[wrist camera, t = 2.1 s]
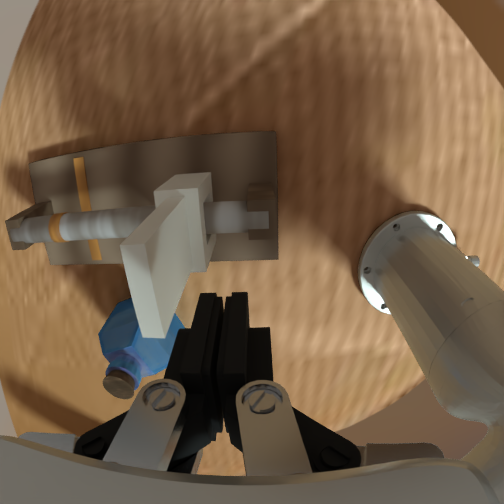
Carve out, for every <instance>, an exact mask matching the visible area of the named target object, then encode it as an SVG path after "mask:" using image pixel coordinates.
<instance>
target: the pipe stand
mask: <svg viewBox="0 0 504 504" xmlns="http://www.w3.org/2000/svg"><path fill="white" fill-rule="evenodd" d="M29 169H30V176H31V182H32V188H33V193H34V198H35V205H33V206H31V207H29V208H28V209H26V210H24V211H22V212H20V213H19V214H17V215H15V216H13V217H11V218H10V219H8V220H6V221H5V223H6V227H7V231H8V235H9V238H10V242H11V246H12V249H13V250H24V249H27V248H28V247H30V246H31V245H32V244H34V243H41V242H44V243H45V246H46V250H47V254H48V257H49V261H50V264H51V265H71V264H123V258H122V254H121V249H120V244H121V243H122V242H123V241H124V240H125V239H126V238H127V237H128V236H129V235H130V234H131V233H132V232H133V231H134V230H135V229H136V228H137V227H138V226H139V225H140V224H141V223H142V222H143V221H144V220H145V219H146V218H147V217H148V216H149V215H150V214H151V213H152V212H153V211H154V210H155V209H156V206H155V199H154V191H155V190H156V189H157V188H158V187H160V186H161V185H162V184H164V183H165V182H166V181H168V180H169V179H170V178H172V177H173V176H174V175H177V174H190V173H204V172H211V181H212V194H213V202H204V203H203V208H204V219H205V229H206V234H216V243H215V246H214V249H213V252H212V255H211V258H210V261H244V260H277V259H278V188H277V146H276V132H275V131H257V132H234V133H217V134H204V135H192V136H182V137H172V138H163V139H155V140H147V141H139V142H132V143H126V144H119V145H113V146H107V147H101V148H95V149H90V150H85V151H80V152H75V153H70V154H65V155H60V156H56V157H51V158H47V159H43V160H39V161H36V162H32V163H29Z"/></svg>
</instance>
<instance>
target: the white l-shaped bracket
mask: <svg viewBox="0 0 504 504" xmlns="http://www.w3.org/2000/svg"><path fill="white" fill-rule="evenodd" d="M154 199H155V206H156V209H155V210H154V211H153V212H152V213H151V214H150V215H149V216H148V217H147V218H146V219H145V220H144V221H143V222H142V223H141V224H140V225H139V226H138V227H137V228H136V229H135V230H134V231H133V232H132V233H131V234H130V235H129V236H128V237H127V238H126V239H125V240H124V241H123V242H122V243H121V244H120V249H121V254H122V258H123V263H124V267H125V272H126V276H127V280H128V285H129V289H130V293H131V297H132V301H133V305H134V308H135V312H136V316H137V319H138V323H139V327H140V330H141V333H142V337H144V338H165V337H166V334H167V332H168V329H169V326H170V324H171V321H172V318H173V316H174V313H175V310H176V308H177V305H178V303H179V300H180V297H181V295H182V292H183V290H184V287H185V285H186V282H187V280H188V277H189V275H190V272H206V271H207V268H208V265H209V262H210V258H211V255H212V252H213V249H214V246H215V243H216V234H206V229H205V219H204V208H203V203H204V202H213V194H212V181H211V172H204V173H190V174H177V175H174V176H173V177H172V178H170V179H169V180H168V181H166V182H165V183H164V184H162V185H161V186H160V187H158V188H157V189H156V190H155V191H154Z"/></svg>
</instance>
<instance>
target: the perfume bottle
mask: <svg viewBox="0 0 504 504" xmlns="http://www.w3.org/2000/svg"><path fill="white" fill-rule="evenodd" d="M180 328H185V327H184V326H183V324H182V323H181V321H180V320H179V318H178V317H177V315H176V314H175V313H174V316H173V318H172V321H171V324H170V326H169V329H168V332H167V334H166V337H165V338H144V337H142V333H141V330H140V327H139V323H138V319H137V316H136V312H135V308H134V305H133V301H132V298H129V299H127V300H124V301H122V302H119V303H118V304H117V305H116V307H115V308H114V310H113V311H112V313H111V315H110V316H109V318H108V319H107V321H106V322H105V324H104V326H103V327H102V329H101V330H100V332H99V334H98V335H99V340H100V344H101V348H102V353H103V355H104V356H105V358H106V359H107V360H108V361H109V362H110V364H109V366H108V368H107V370H106V377H105V378H104V380H103V386H104V388H105V389H106V390H107V391H108V392H109V393H110V394H112V395H113V396H115V397H117V398H121V399H130V398H132V397H133V395H134V390H136V389H137V388H138V386H139V384H140V381H141V378H142V377H146V376H151V375H155V374H156V373H158V372H160V371H162V370H163V369H165V368H167V365H168V362H169V359H170V355H171V352H172V349H173V345H174V342H175V339H176V336H177V332H178V330H179V329H180Z"/></svg>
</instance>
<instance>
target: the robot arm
mask: <svg viewBox="0 0 504 504" xmlns="http://www.w3.org/2000/svg"><path fill="white" fill-rule="evenodd" d="M394 224H395V226H393V225H394ZM479 262H480V261H479V257H478V256H466V255H465V254H463V253H462V252H461V251H460V250H458V249H457V246H456V241H455V238H454V235H453V233H452V231H451V229H450V228H449V227H448V225H447V224H446V223H445V222H444V221H442V220H441V219H440V218H438V217H437V216H435V215H433V214H431V213H428V212H424V211H409V212H404V213H401V214H399V215H396V216H394V217H392V218H390V219H389V220H387V221H386V222H384V223H383V224H382V225H381V226H380V227H379V228H378V229H376V230H375V232H374V233H373V234H372V236H371V237H370V238H369V239H368V241H367V243H366V245H365V247H364V248H363V251H362V254H361V257H360V260H359V266H358V280H359V284H360V288H361V290H362V292H363V294H364V296H365V298H366V299H367V301H368V302H369V303H370V304H371V305H372V306H373V307H374V308H375V309H377V310H379V311H381V312H383V313H387V314H391V315H392V317H393V318H394V320H395V322H396V324H397V325H398V327H399V329H400V331H401V332H402V334H403V336H404V338H405V340H406V341H407V343H408V345H409V347H410V349H411V351H412V352H413V354H414V356H415V358H416V360H417V362H418V364H419V366H420V368H421V369H422V371H423V373H424V375H425V377H426V379H427V381H428V383H429V385H430V387H431V389H432V391H433V393H434V395H435V397H436V398H437V400H438V402H439V403H440V404H441V406H442V407H443V408H444V409H445V410H446V411H447V412H449V413H450V414H451V415H453V416H455V417H458V418H461V419H465V420H470V421H478V422H483V423H485V424H486V425H487V426H488V432H487V435H486V436H485V437H484V439H483V440H481V441H480V442H479V443H478V444H477V445H476V446H475V447H474V448H473V449H472V450H471V451H470V452H469V453H468V454H467V455H466V456H464V457H463V458H462V459H461V460H456V459H448V458H444V455H443V452H442V451H441V450H440V449H439V448H438V447H437V446H436V445H433V444H431V443H402V444H401V443H399V444H373V443H372V444H371V443H367V444H366V446H356V445H354V444H353V443H352V442H350V441H349V440H347V439H345V438H343V437H342V436H340V435H338V434H336V433H335V432H333V431H331V430H330V429H328V428H326V427H324V426H323V425H321V424H319V423H318V422H316V421H314V420H313V419H311V418H309V417H308V416H306V415H305V414H303V413H301V412H300V411H298V410H297V409H295V408H293V407H292V406H291V402H290V399H289V396H288V393H287V392H286V390H285V389H284V388H283V387H282V386H281V385H280V384H278V383H276V382H273V368H272V352H271V337H270V327H262V328H250V326H249V308H248V293H247V292H232V296H229V297H226V302H225V309H223V300H222V297H217V294H216V293H200V296H199V300H198V304H197V307H196V311H195V315H194V319H193V322H192V326H191V328H180V329H179V330H178V332H177V336H176V339H175V342H174V345H173V349H172V352H171V355H170V359H169V362H168V365H167V369H166V372H165V375H164V379H158V380H154V381H151V382H149V383H147V384H146V385H145V386H143V387H142V389H141V390H140V391H139V393H138V395H137V396H136V398H135V400H134V402H133V404H132V406H131V407H130V409H129V410H128V411H126V412H125V413H123V414H121V415H119V416H117V417H115V418H113V419H111V420H109V421H108V422H106V423H104V424H102V425H100V426H98V427H96V428H94V429H92V430H90V431H88V432H86V433H85V434H83V435H82V436H80V437H77V436H76V435H75V434H54V433H37V432H27V433H24V434H22V435H20V436H19V437H18V438H16V437H11V436H1V435H0V504H504V291H503V290H502V289H501V288H500V287H499V286H498V285H497V284H496V283H495V282H493V281H492V280H491V279H490V278H489V277H488V276H487V275H486V274H485V273H483V272H482V271H481V270H480V269H479V268H478V266H479ZM223 418H224V422H225V427H226V432H227V433H229V436H230V441H231V444H233V445H234V446H235V447H236V448H237V449H239V450H240V451H241V452H242V453H243V459H244V465H245V471H246V476H215V475H198V474H197V470H198V467H199V464H200V461H201V458H202V454H203V447H205V446H206V445H208V444H209V443H211V441H216V433H217V432H219V433H222V430H223Z"/></svg>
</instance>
